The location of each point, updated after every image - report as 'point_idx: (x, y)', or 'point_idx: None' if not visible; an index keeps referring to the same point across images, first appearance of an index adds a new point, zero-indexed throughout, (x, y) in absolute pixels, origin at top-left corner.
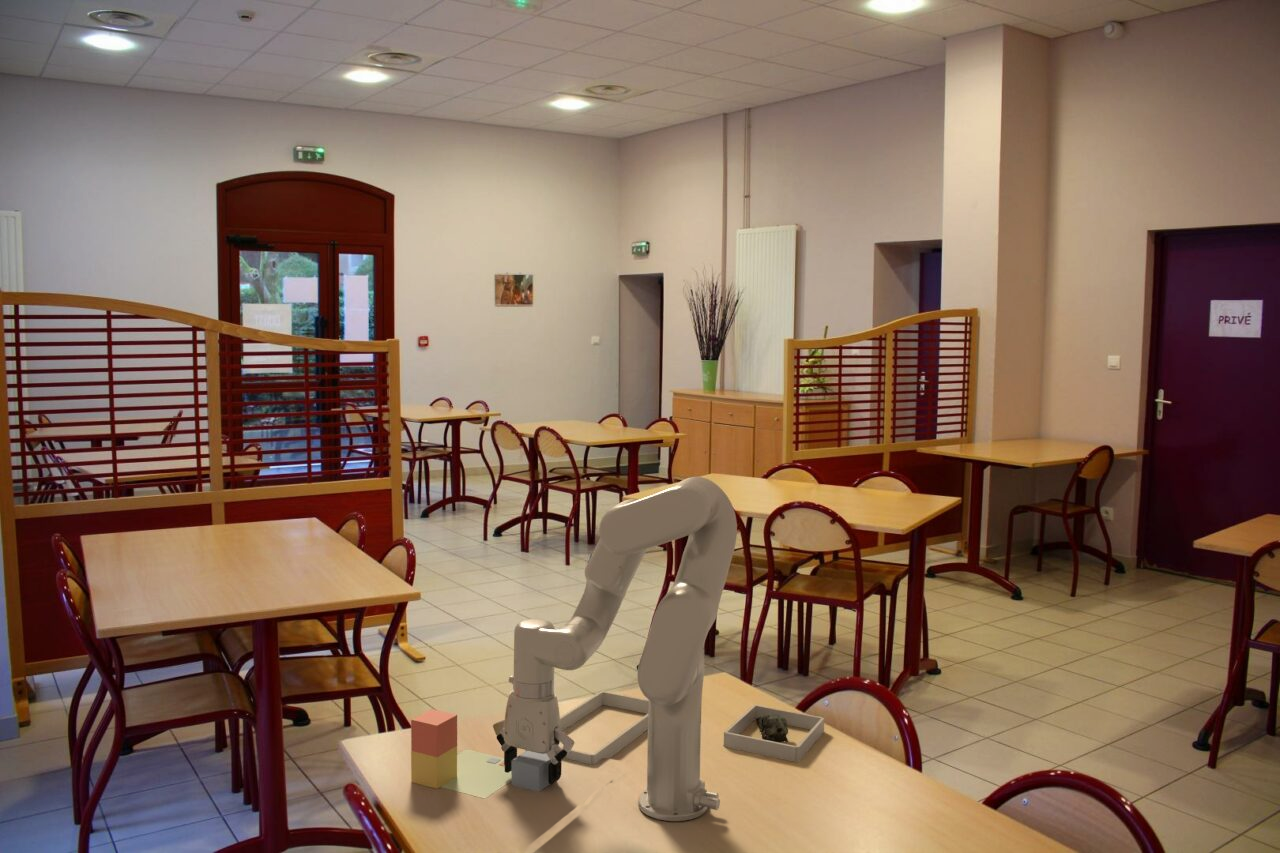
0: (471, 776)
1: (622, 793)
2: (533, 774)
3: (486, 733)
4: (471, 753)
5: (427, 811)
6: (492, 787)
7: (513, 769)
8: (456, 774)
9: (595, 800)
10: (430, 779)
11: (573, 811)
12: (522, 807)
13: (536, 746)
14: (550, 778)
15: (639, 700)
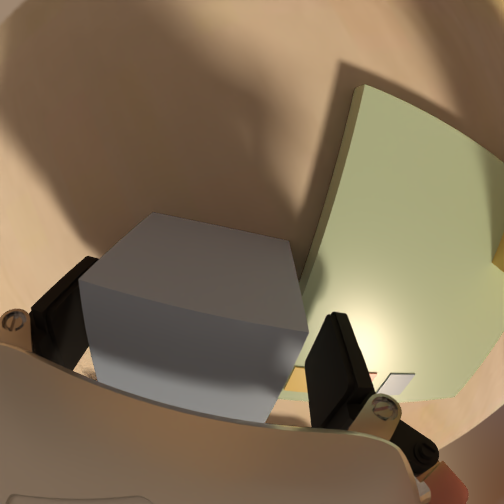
0: (456, 275)
1: (5, 300)
2: (138, 260)
3: None
4: (447, 388)
5: (493, 46)
6: (369, 203)
7: (287, 292)
8: (497, 263)
9: (16, 251)
10: None
11: (24, 163)
12: (181, 110)
13: (20, 398)
14: (77, 268)
15: None
